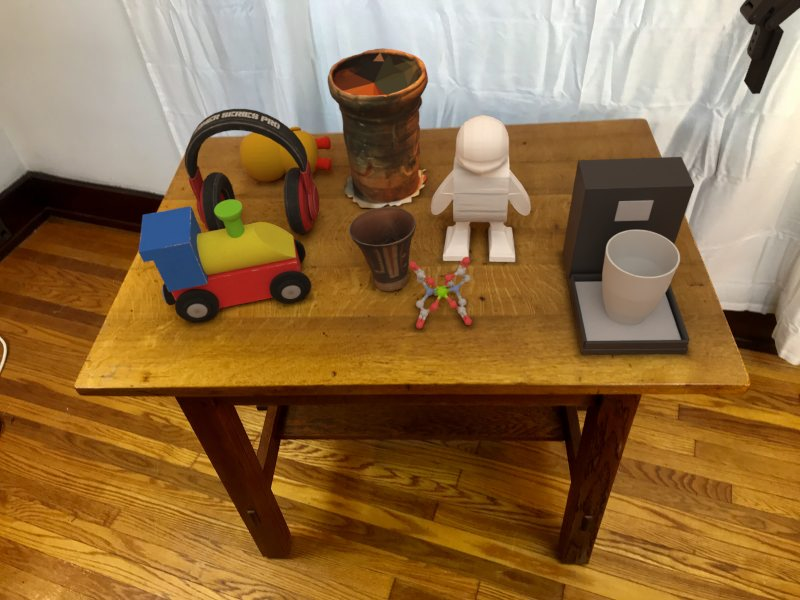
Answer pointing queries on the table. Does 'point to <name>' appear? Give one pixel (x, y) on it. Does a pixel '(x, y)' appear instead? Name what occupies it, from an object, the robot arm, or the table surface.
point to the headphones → (217, 186)
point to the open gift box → (607, 216)
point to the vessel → (381, 124)
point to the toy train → (221, 261)
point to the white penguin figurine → (481, 190)
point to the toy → (280, 155)
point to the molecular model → (442, 291)
